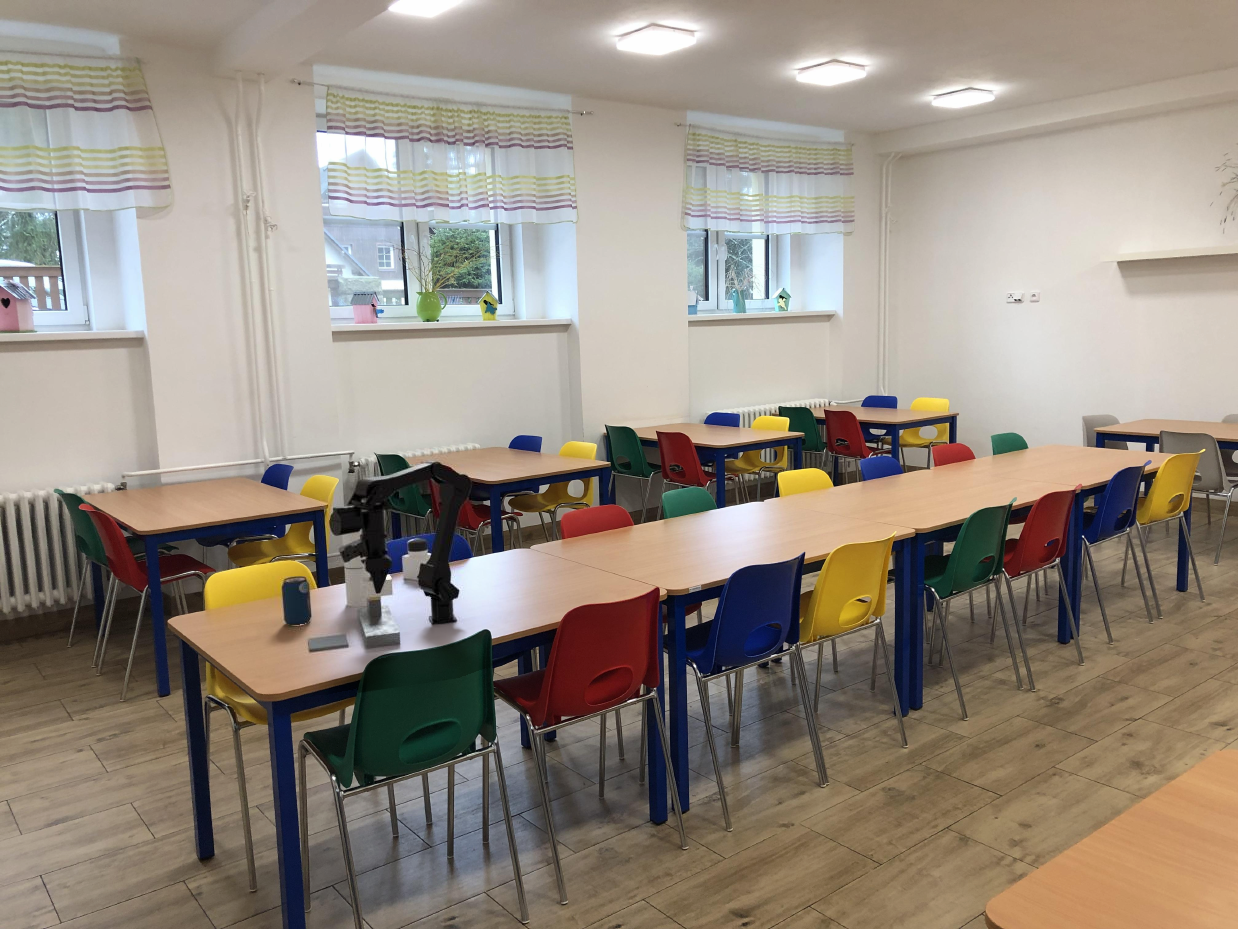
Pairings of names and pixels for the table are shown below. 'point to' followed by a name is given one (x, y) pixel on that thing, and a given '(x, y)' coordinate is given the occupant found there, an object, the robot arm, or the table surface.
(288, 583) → the soda can
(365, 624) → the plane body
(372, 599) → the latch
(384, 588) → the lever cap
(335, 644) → the mat
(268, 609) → the table surface
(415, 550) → the medicine bottle
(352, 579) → the cylindrical container
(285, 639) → the table surface
